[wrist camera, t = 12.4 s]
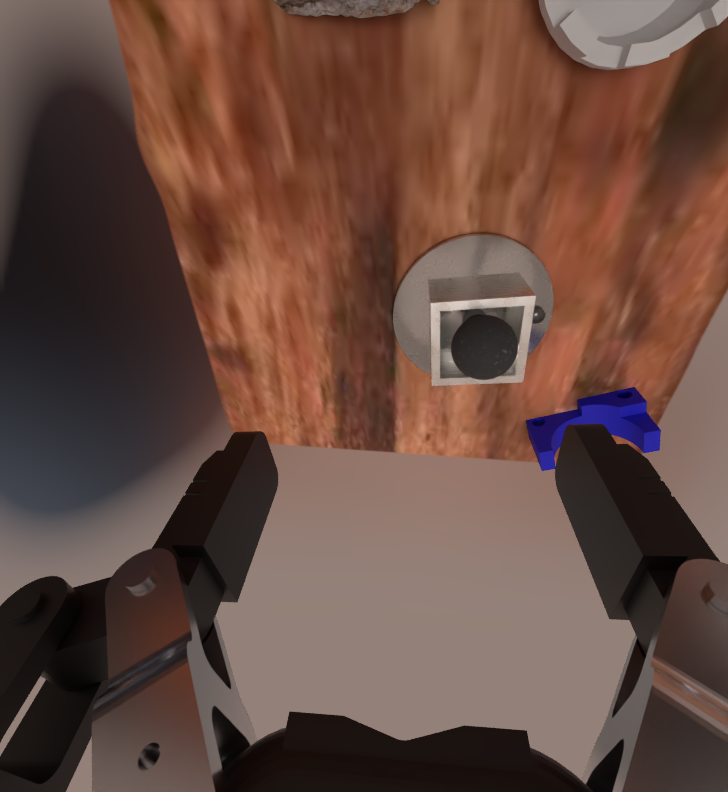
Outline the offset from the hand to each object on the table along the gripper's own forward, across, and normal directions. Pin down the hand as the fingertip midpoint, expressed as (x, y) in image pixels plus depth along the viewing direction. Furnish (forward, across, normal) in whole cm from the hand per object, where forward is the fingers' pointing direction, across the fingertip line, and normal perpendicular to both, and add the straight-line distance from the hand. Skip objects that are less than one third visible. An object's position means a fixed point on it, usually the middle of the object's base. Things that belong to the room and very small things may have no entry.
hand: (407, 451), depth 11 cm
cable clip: (+32, -20, +24) cm, 44 cm away
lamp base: (+31, -6, +10) cm, 33 cm away
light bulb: (+30, -6, +10) cm, 32 cm away
